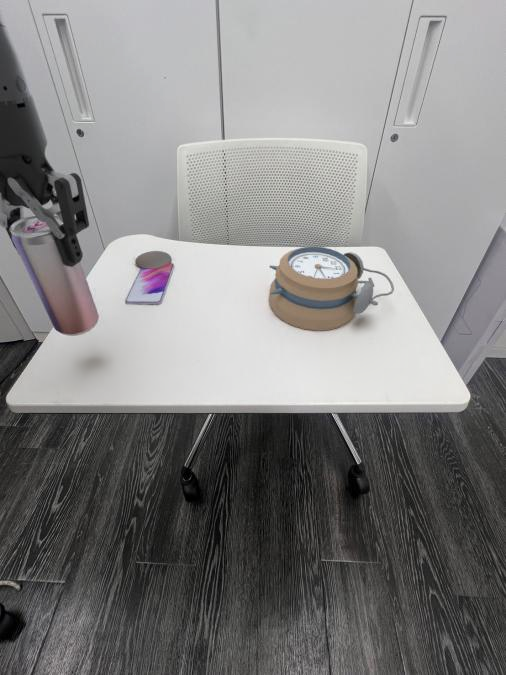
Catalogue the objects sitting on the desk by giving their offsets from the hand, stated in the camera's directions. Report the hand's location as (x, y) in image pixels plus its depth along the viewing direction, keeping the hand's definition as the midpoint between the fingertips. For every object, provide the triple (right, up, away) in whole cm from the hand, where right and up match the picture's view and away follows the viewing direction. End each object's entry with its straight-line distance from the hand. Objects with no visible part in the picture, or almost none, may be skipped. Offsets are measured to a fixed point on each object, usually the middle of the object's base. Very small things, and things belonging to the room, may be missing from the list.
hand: (51, 258), depth 42 cm
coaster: (+2, +8, +36) cm, 37 cm away
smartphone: (+3, +1, +30) cm, 30 cm away
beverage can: (0, -8, +7) cm, 11 cm away
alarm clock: (+39, -3, +26) cm, 47 cm away
